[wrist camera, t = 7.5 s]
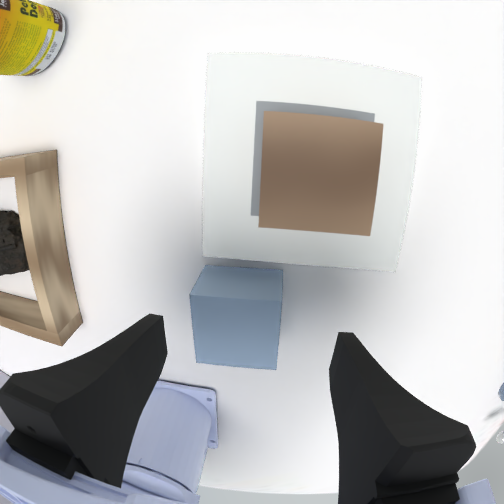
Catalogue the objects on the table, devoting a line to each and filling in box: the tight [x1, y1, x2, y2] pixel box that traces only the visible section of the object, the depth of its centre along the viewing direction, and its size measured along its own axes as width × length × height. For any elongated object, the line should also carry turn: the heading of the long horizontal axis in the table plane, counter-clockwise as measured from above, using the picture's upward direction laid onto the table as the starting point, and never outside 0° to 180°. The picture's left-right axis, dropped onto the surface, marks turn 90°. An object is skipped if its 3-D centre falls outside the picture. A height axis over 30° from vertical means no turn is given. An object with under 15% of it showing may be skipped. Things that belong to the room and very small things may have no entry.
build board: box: [202, 52, 422, 272], centre depth 17 cm, size 12×12×1 cm
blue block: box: [190, 265, 283, 370], centre depth 20 cm, size 5×5×4 cm
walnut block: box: [258, 111, 383, 236], centre depth 14 cm, size 5×5×4 cm
